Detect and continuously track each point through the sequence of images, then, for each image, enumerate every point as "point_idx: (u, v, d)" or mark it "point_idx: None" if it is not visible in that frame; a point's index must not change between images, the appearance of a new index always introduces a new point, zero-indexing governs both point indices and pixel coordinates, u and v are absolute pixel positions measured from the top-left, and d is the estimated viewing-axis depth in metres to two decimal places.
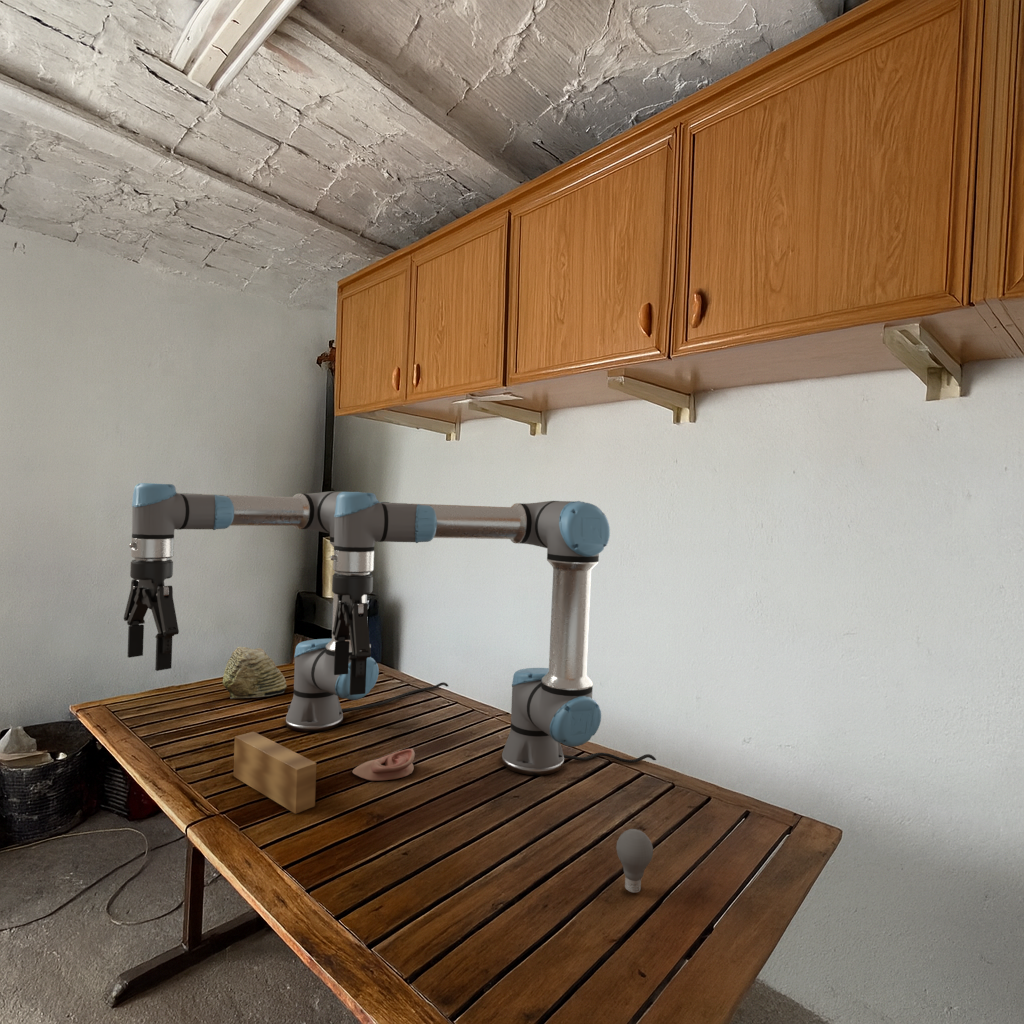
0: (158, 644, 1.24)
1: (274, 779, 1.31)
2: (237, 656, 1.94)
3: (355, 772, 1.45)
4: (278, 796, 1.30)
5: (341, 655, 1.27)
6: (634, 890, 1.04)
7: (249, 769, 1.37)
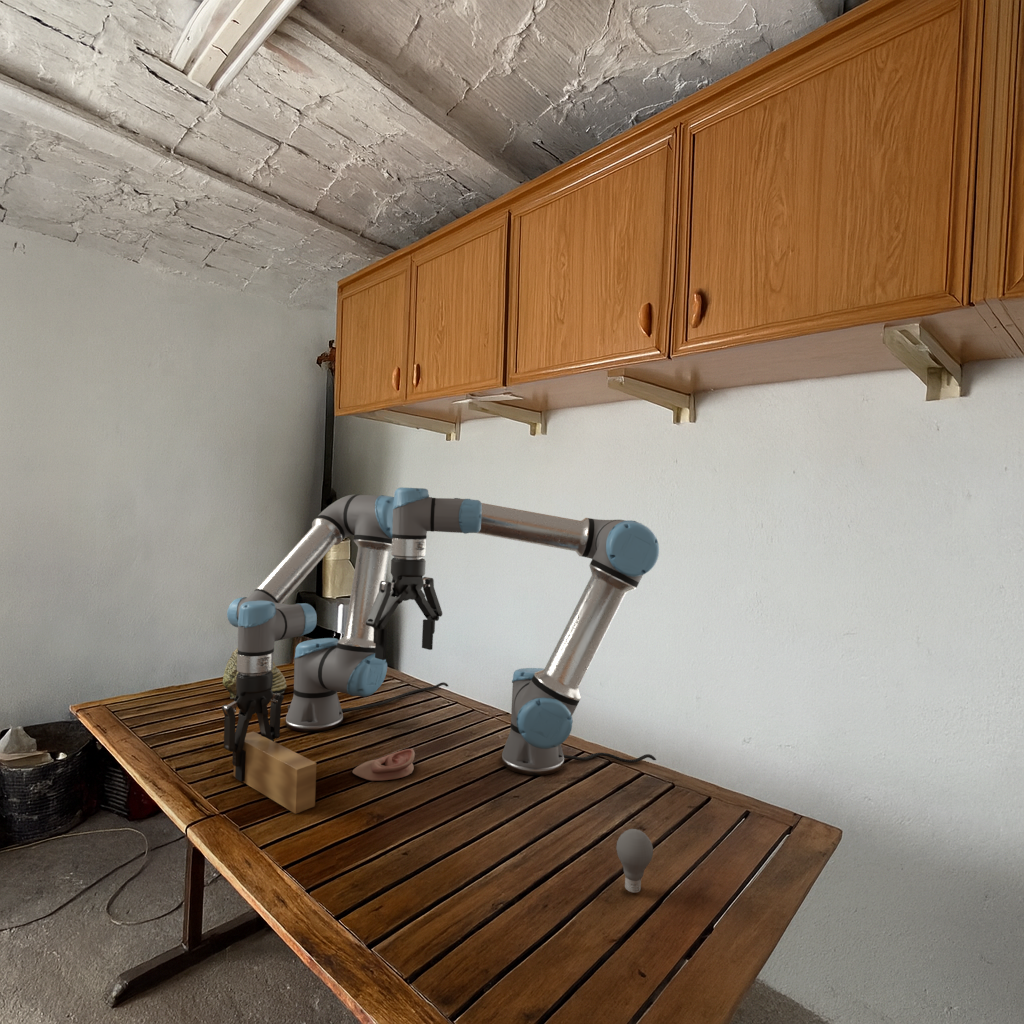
0: None
1: (274, 778, 1.31)
2: None
3: (355, 772, 1.45)
4: (278, 796, 1.30)
5: None
6: (634, 890, 1.04)
7: (249, 769, 1.37)
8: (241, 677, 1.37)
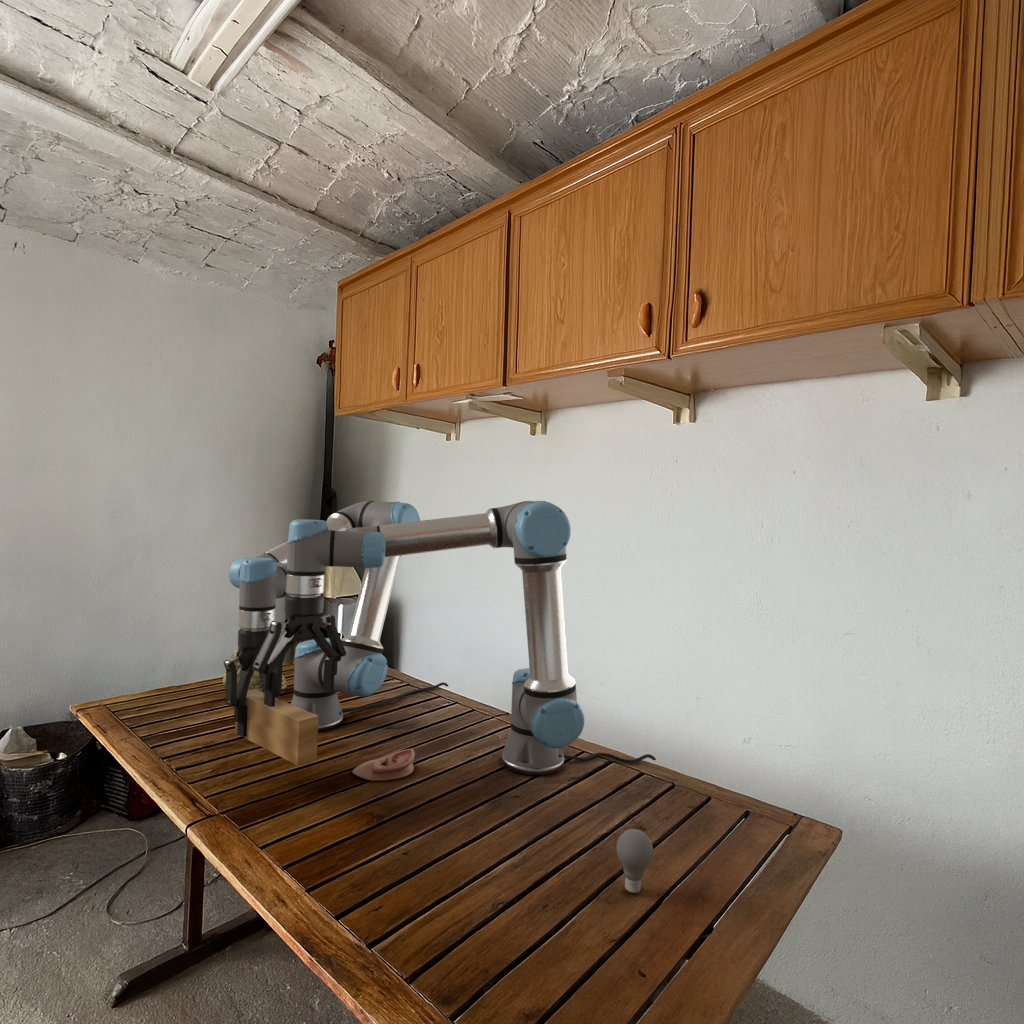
0: None
1: (276, 732, 1.31)
2: None
3: (355, 772, 1.45)
4: (280, 749, 1.30)
5: None
6: (634, 890, 1.04)
7: (251, 724, 1.37)
8: (243, 632, 1.37)
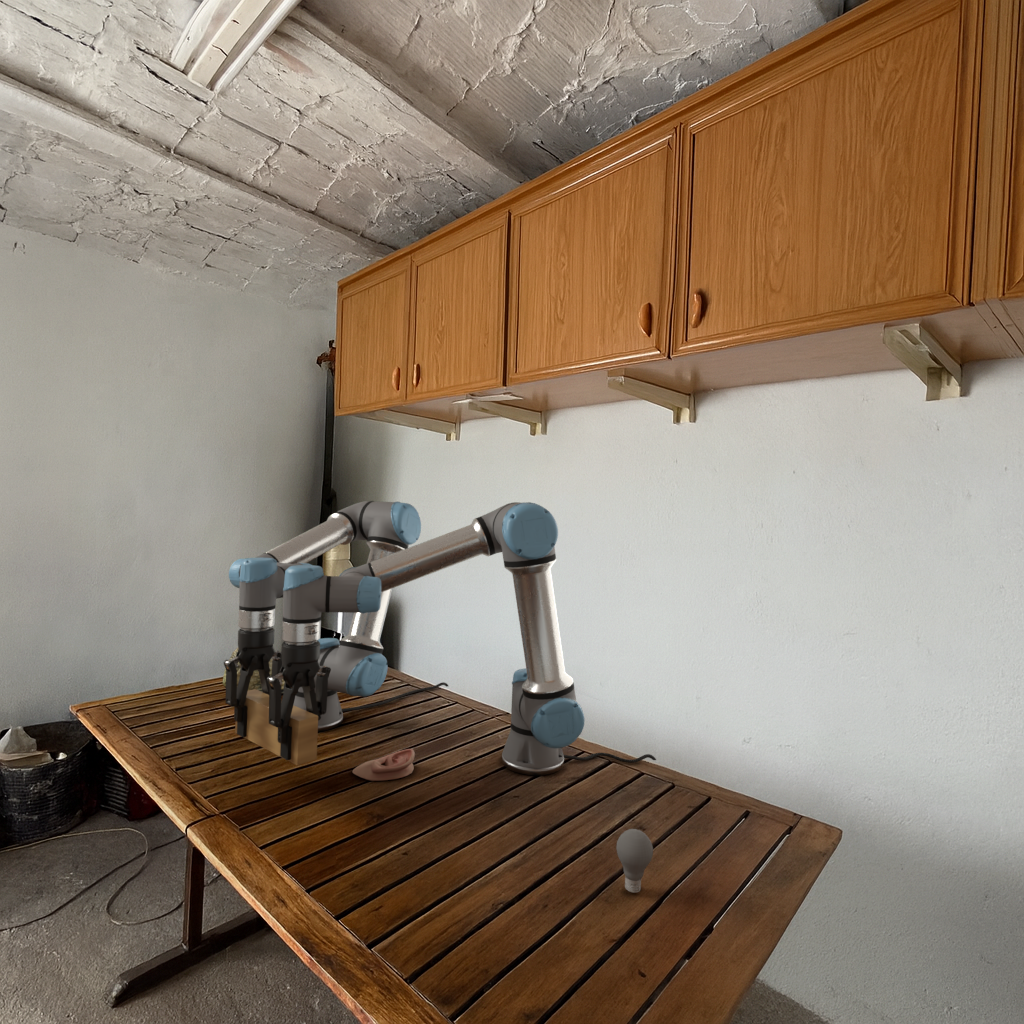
0: None
1: (276, 732, 1.31)
2: None
3: (355, 772, 1.45)
4: None
5: None
6: (634, 890, 1.04)
7: (251, 724, 1.37)
8: (243, 632, 1.37)
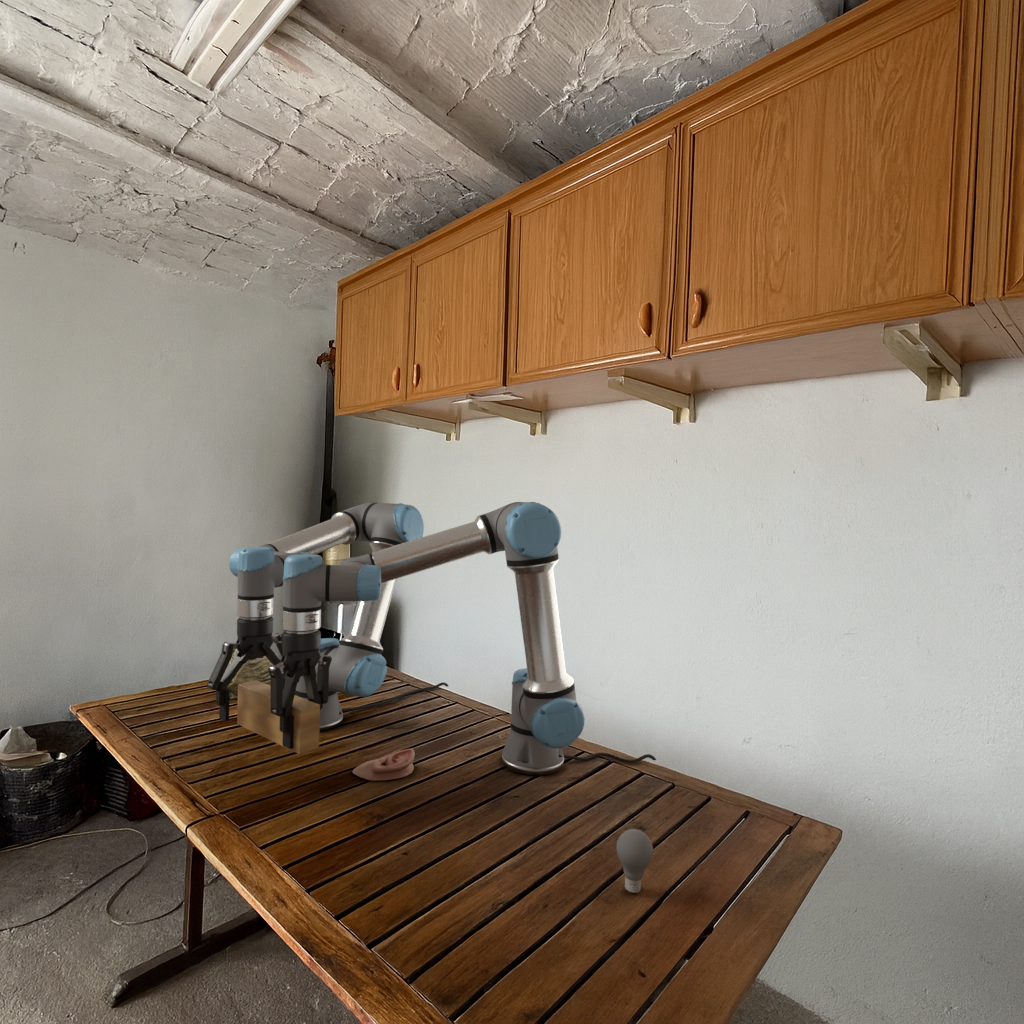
0: None
1: (278, 722, 1.31)
2: None
3: (355, 772, 1.45)
4: (282, 739, 1.30)
5: None
6: (634, 890, 1.04)
7: (253, 715, 1.37)
8: (242, 621, 1.38)
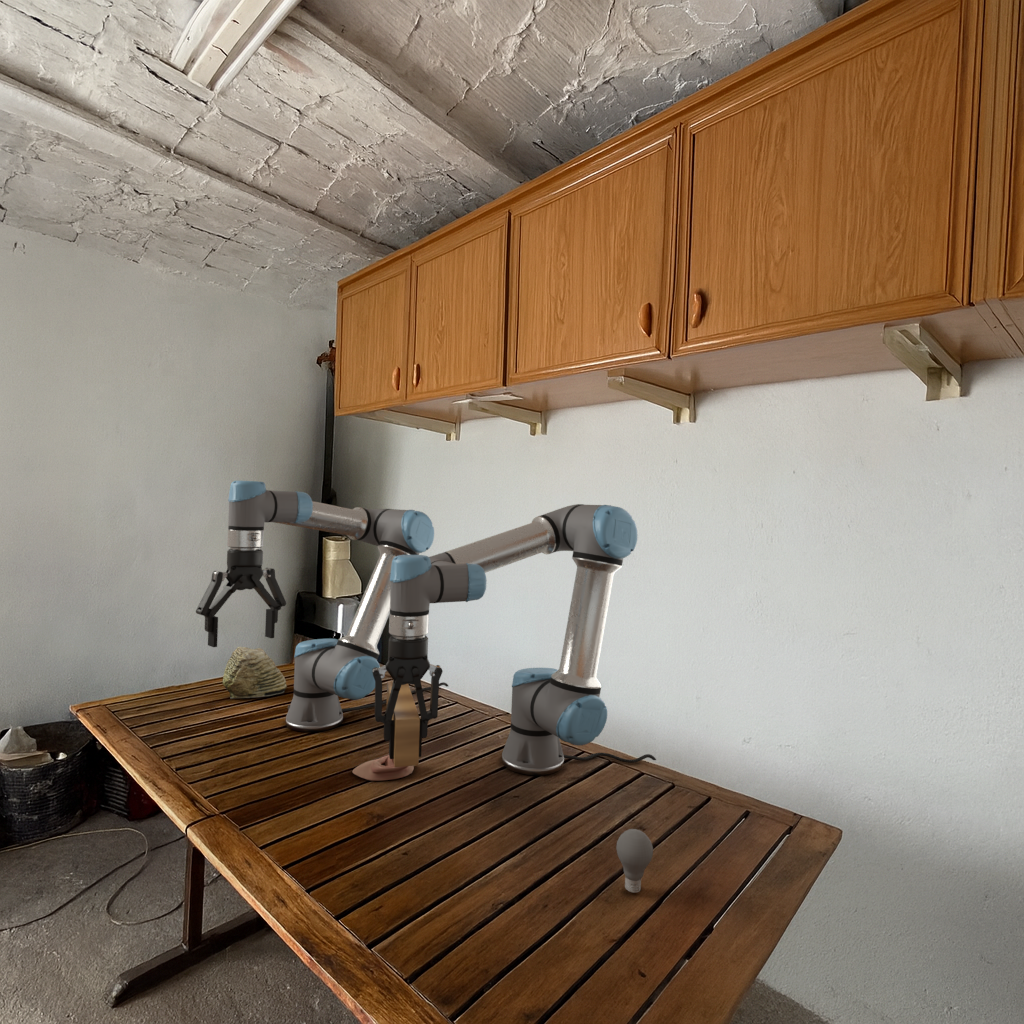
0: None
1: None
2: (237, 656, 1.94)
3: (355, 772, 1.45)
4: None
5: None
6: (634, 890, 1.04)
7: None
8: (232, 551, 1.41)
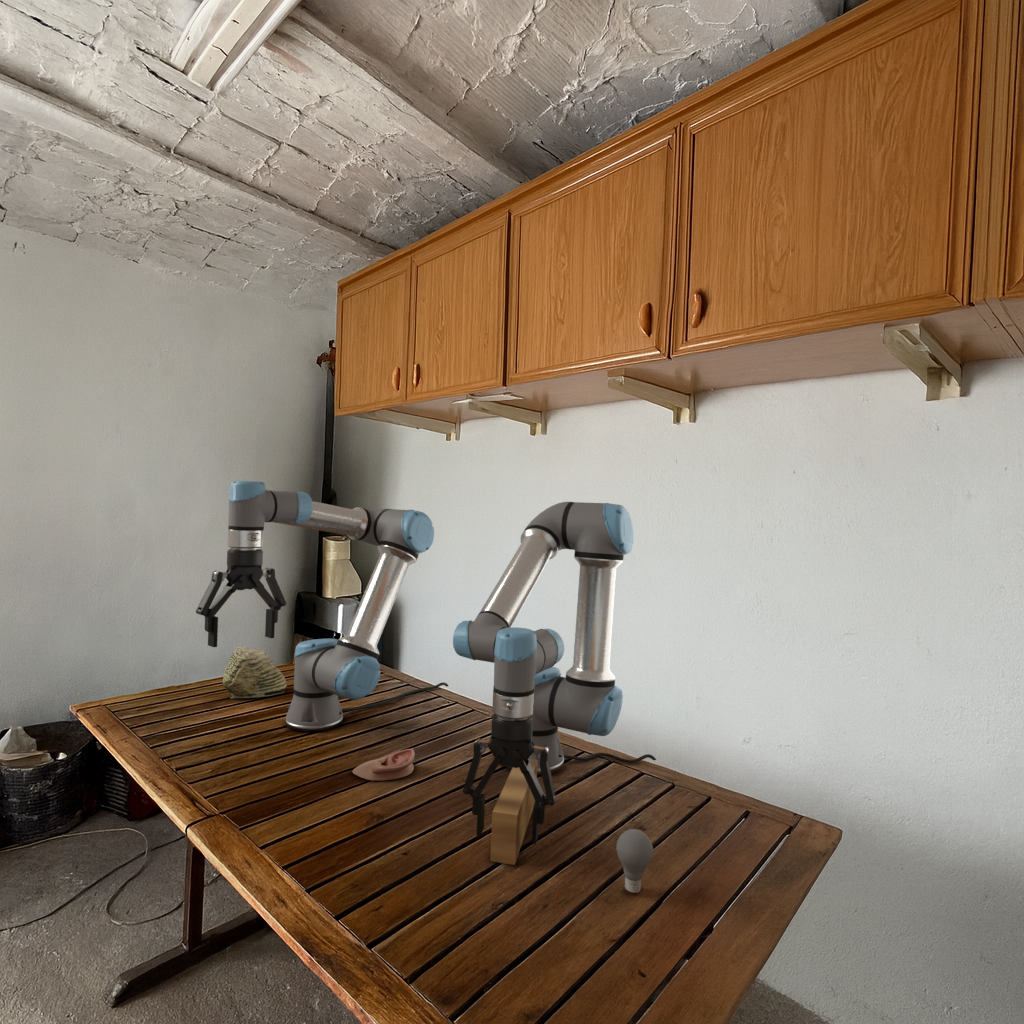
0: None
1: None
2: (237, 656, 1.94)
3: (355, 772, 1.45)
4: None
5: (482, 812, 1.17)
6: (634, 890, 1.04)
7: None
8: (232, 551, 1.41)
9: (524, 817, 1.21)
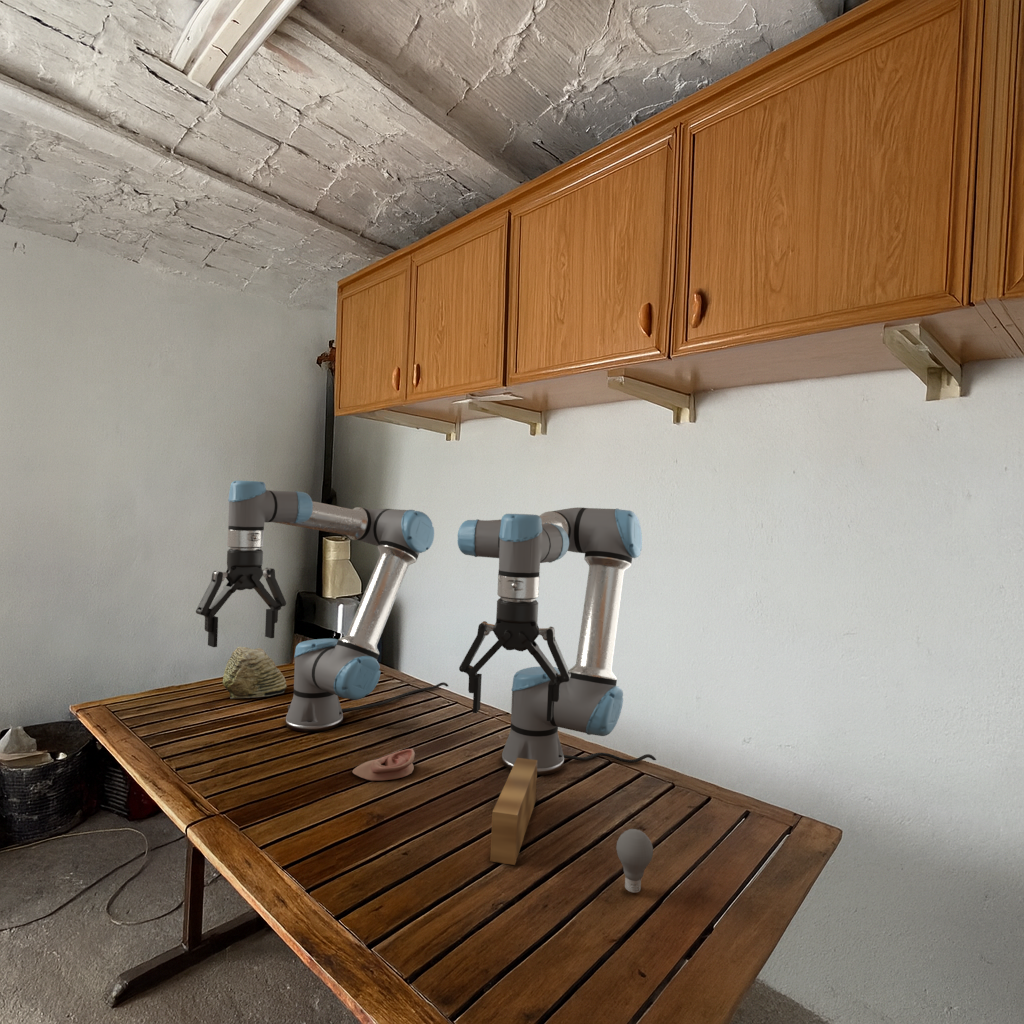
0: None
1: None
2: (237, 656, 1.94)
3: (355, 772, 1.45)
4: None
5: (479, 690, 1.16)
6: (634, 890, 1.04)
7: None
8: (232, 551, 1.41)
9: (524, 817, 1.21)
